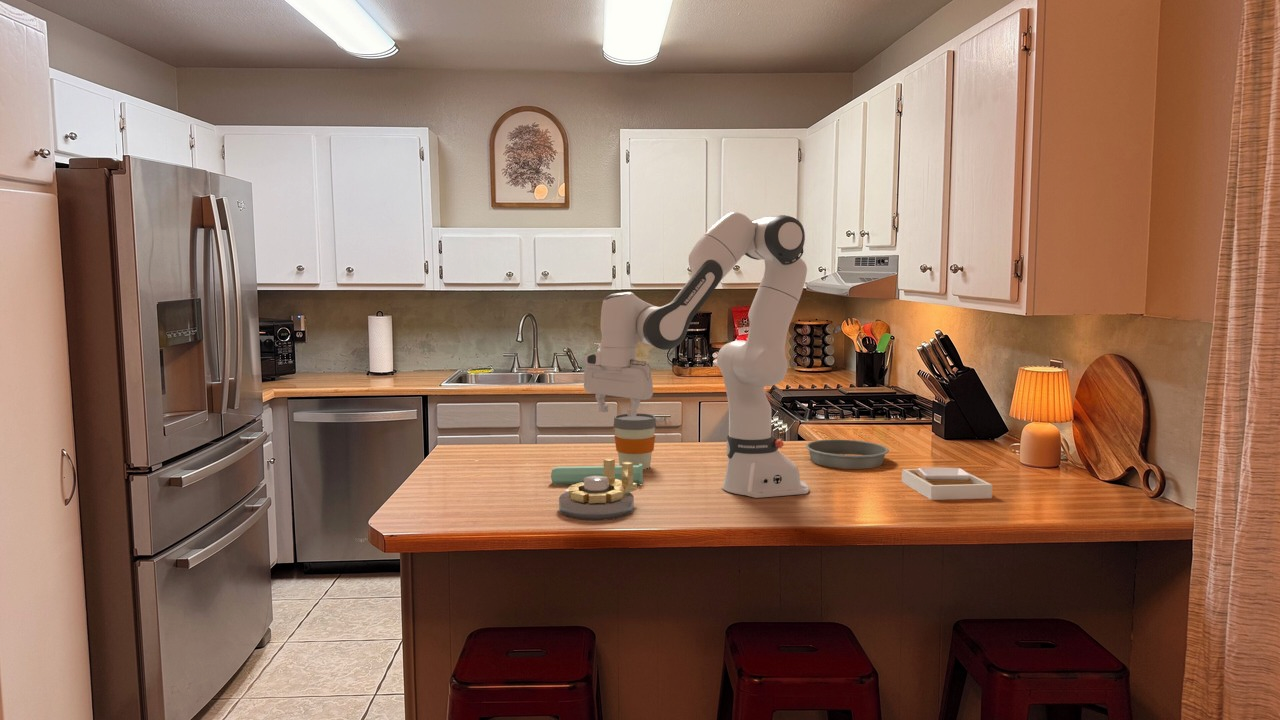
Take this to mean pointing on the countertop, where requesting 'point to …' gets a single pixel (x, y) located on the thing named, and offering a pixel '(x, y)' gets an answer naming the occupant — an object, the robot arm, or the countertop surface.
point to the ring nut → (615, 486)
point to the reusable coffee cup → (635, 438)
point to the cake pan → (832, 449)
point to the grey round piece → (595, 509)
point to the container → (590, 474)
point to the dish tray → (947, 487)
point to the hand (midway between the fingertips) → (617, 414)
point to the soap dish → (944, 476)
